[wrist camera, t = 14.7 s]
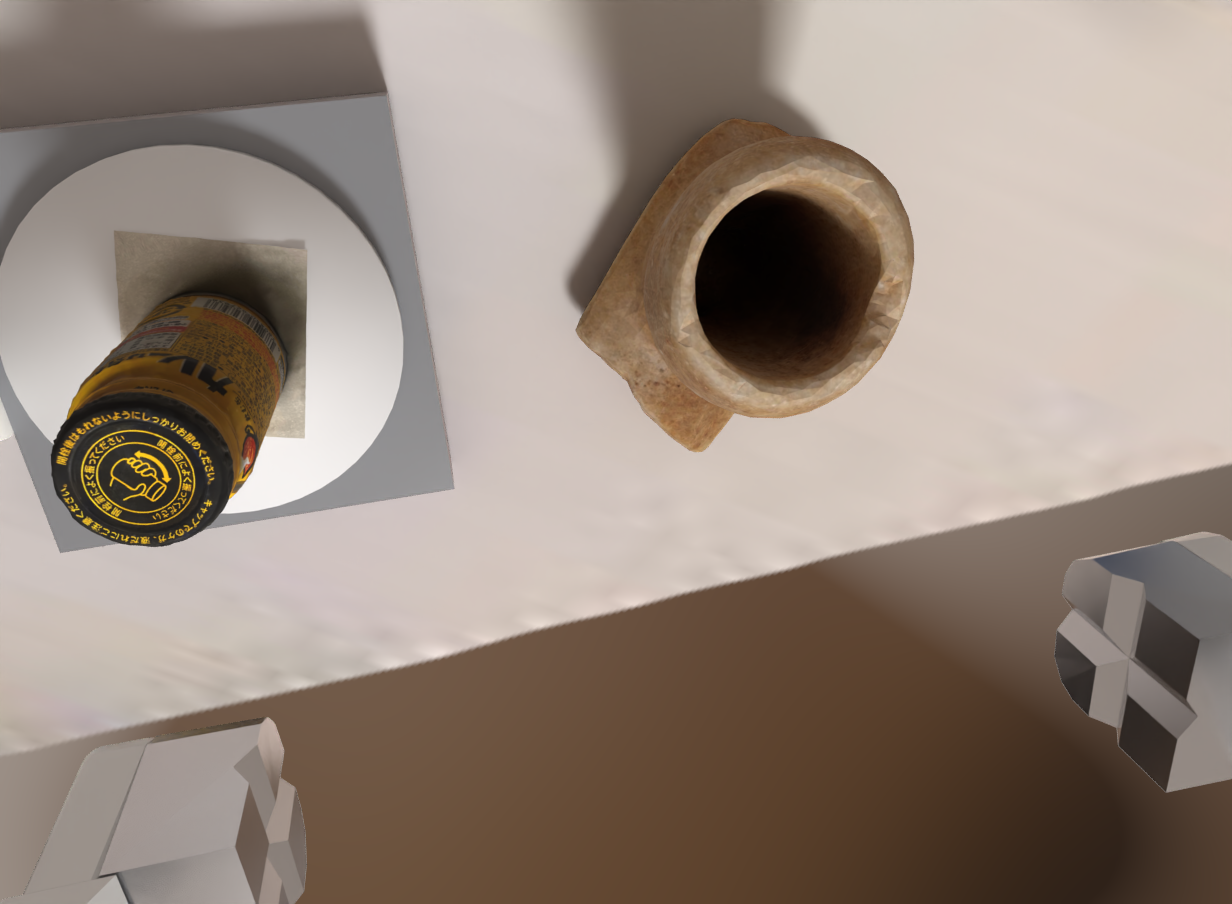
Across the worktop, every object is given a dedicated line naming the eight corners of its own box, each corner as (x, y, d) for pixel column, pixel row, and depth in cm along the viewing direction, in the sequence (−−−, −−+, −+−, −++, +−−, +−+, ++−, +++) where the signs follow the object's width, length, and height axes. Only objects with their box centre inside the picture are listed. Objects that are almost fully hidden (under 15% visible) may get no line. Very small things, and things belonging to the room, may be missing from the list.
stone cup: (688, 54, 42) (819, 63, 29) (868, 203, 47) (1053, 269, 34) (506, 327, 46) (549, 447, 32) (691, 441, 50) (795, 587, 37)
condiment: (127, 427, 40) (25, 571, 29) (114, 229, 37) (-5, 308, 26) (305, 436, 42) (271, 575, 31) (308, 248, 38) (271, 329, 28)
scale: (-96, 138, 37) (-182, 155, 32) (387, 91, 40) (384, 100, 35) (54, 526, 45) (5, 595, 40) (451, 463, 48) (457, 519, 42)
